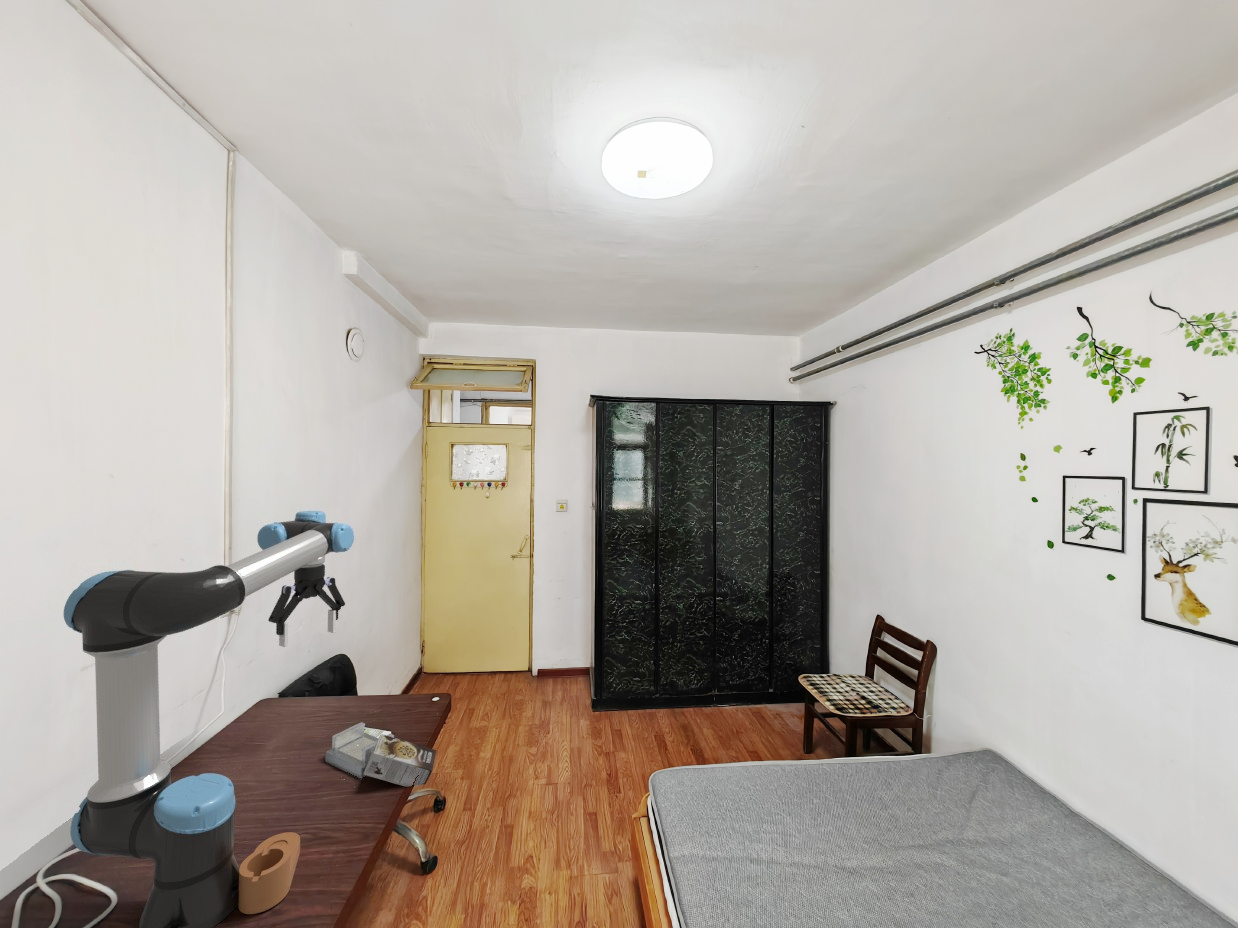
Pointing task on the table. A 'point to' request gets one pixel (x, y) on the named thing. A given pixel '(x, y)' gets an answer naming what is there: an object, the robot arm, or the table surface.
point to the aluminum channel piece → (352, 750)
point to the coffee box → (400, 762)
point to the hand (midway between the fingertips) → (308, 638)
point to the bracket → (268, 873)
